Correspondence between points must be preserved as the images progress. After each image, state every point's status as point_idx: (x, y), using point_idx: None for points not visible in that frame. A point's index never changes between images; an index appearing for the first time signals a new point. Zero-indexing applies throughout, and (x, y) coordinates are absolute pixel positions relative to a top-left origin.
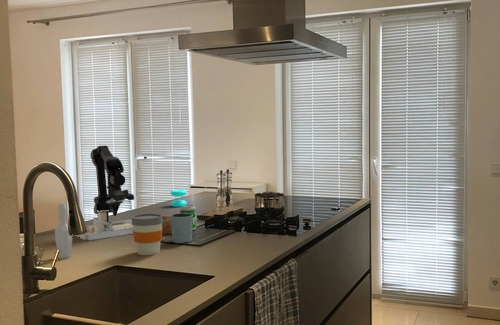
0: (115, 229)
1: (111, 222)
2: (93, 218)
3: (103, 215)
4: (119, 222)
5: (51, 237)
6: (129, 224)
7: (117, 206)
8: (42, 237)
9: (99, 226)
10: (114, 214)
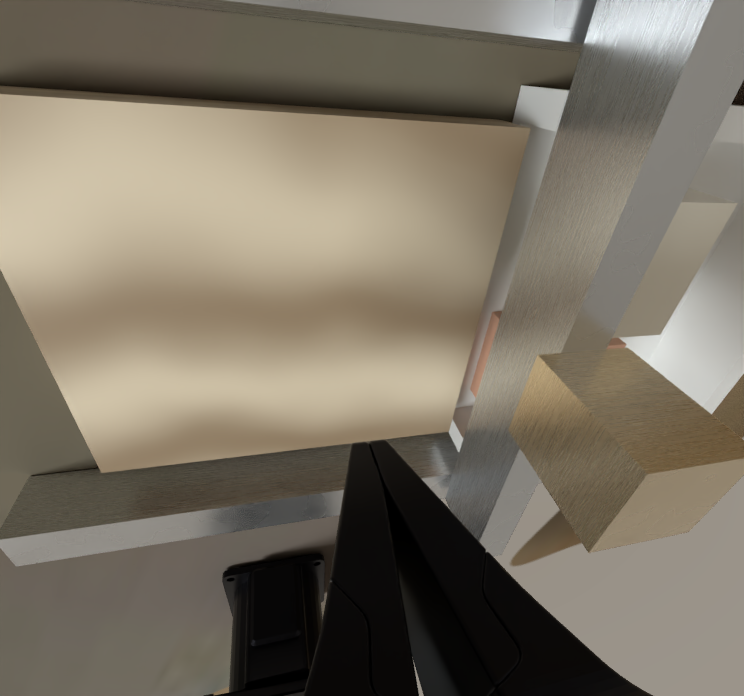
0: (518, 6)
1: (286, 511)
2: (504, 543)
3: (653, 416)
4: (193, 503)
5: (731, 403)
6: (81, 401)
7: (384, 682)
8: (739, 429)
9: (707, 202)
10: (401, 457)
